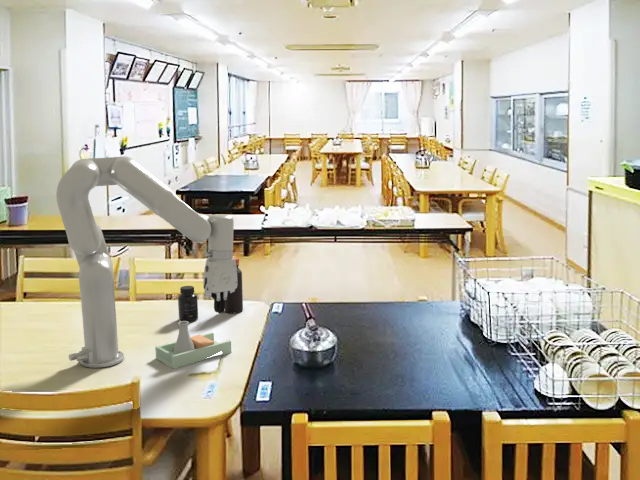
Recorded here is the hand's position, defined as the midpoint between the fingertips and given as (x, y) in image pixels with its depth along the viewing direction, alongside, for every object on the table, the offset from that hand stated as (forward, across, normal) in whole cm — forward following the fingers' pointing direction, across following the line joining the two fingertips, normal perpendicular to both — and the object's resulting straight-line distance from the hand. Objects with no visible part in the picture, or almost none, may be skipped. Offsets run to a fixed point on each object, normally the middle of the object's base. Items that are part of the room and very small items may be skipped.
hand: (219, 311), depth 214 cm
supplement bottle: (+12, +8, +32) cm, 35 cm away
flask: (+11, -12, -1) cm, 17 cm away
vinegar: (+11, +26, +30) cm, 41 cm away
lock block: (+11, -7, -1) cm, 13 cm away
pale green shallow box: (+12, -9, -1) cm, 15 cm away
